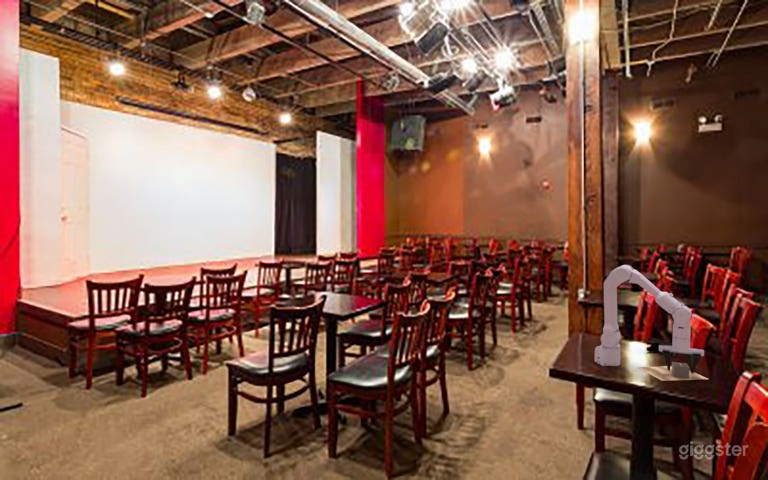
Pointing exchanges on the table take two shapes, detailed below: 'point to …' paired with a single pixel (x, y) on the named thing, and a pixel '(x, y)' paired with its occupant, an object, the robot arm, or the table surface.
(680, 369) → the grey cube
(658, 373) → the board
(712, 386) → the table surface
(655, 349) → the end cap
